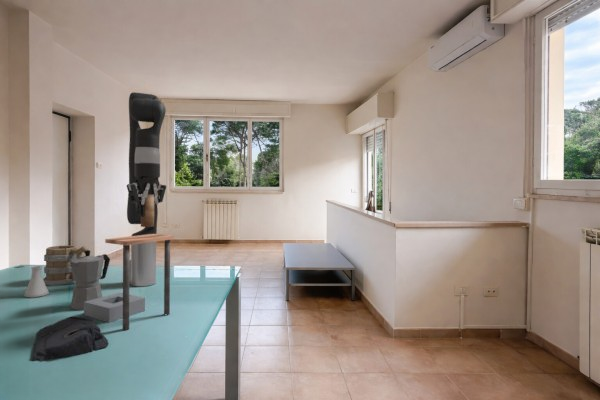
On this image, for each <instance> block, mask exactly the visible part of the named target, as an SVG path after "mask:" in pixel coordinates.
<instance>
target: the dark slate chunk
mask: <svg viewBox="0 0 600 400" xmlns="http://www.w3.org/2000/svg"><path fill="white" fill-rule="evenodd" d="M108 341H109V340H108V339H107V337H106V336H105V335H104V334H103V333H102V332H101V328H100V327H99V326H98V325H97V323H96V322H95V321H94V318H92V317H89V316H69V317H65V318H63V319H61V320H58V321H57V322H55V323H53V324H49V325H47V326H45V327H43V328H40V329H39V330H38V331H37V332H36V334H35V340H34V343H33V347H32V349H33V350H32V356H31V362H36V361H39V362H40V363H42V362H45V361H46V362H47V361H51V360H56V359H63V358H64V359H65V358H71V357H76V356H80V355H85V354H88V353H90V352H93V351H94V352H95V351H99V349H105V348H107V347H108V346H109V342H108Z"/></svg>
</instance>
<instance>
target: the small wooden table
mask: <svg viewBox="0 0 600 400" xmlns="http://www.w3.org/2000/svg"><path fill="white" fill-rule="evenodd" d="M174 237H175V236H174V235H168V234H159V233H157V234H147V235H138V236H132V235H129V236H123V237H122V236H121V237H113V238H111V237H110V238H105V239H104V241H105V244H112V245H113V244H114V245H119V246H122V293H123V318H122V331H128V330H130V316H129V295H130V284H129V273H130V260H131V245H134V244H141V243H149V242H156V243H157V242H161V241H163V242H164V254H163V255H164V258H163V259H164V262H163V263H164V264H163V265H164V269H163V271H164V273H163V276H164V277H163V278H164V279H163V283H164V284H163V315H164V314H169V315H170V312H171V310H170V309H171V308H170V307H171V306H170V305H171V302H170V301H171V300H170V299H171V294H170V293H171V291H170V288H171V240H175V239H174Z"/></svg>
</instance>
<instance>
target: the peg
mask: <svg viewBox="0 0 600 400" xmlns="http://www.w3.org/2000/svg"><path fill="white" fill-rule="evenodd" d="M144 205H145V216H144V217H141V224H140V227H143V228H145V227H153V226H154V194H153V195H147V197H146V198H145V203H144Z"/></svg>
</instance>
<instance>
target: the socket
mask: <svg viewBox="0 0 600 400" xmlns="http://www.w3.org/2000/svg"><path fill="white" fill-rule="evenodd" d="M145 311H146V298H145V297H141V296H137V295H134V294H129V317H130V316H133V315H136V314H139V313H142V312H145ZM83 316H84V317H91V318H92V319H96V320H100V321H103V322H106V323H112V322H114V321H115V322H116V321H118V320H121V319H123V292H116V293H112V294H109V295H105V296H102V297H101V298H97V299H93V300H89V301H85V302H84V310H83Z"/></svg>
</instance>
